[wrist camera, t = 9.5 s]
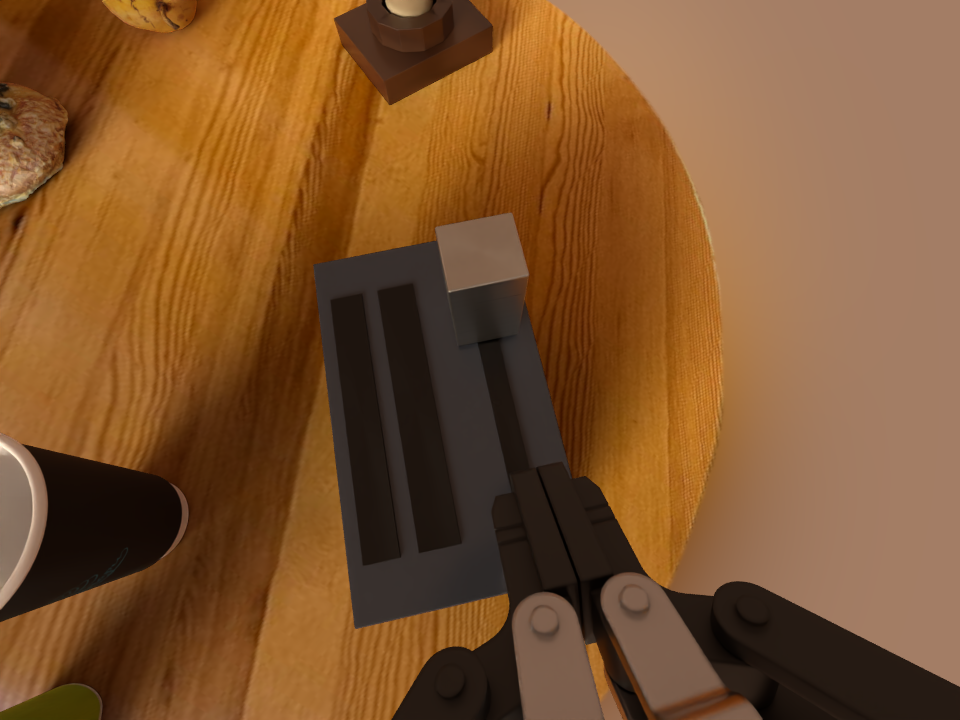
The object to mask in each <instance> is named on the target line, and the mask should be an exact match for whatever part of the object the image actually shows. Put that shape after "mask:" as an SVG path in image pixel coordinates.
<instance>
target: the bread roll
mask: <svg viewBox="0 0 960 720" xmlns="http://www.w3.org/2000/svg"><path fill="white" fill-rule="evenodd" d="M67 122H68V113H67V111H66V110H65V109H64V107H63V106H62V105H60V101H59V100H57V99H55V98H53V97H47V96H44V95H42V94H40V93H38V92H37V91H35V90H32V89H30V88H27V87H25V86H22V85H20V84H16V83H14V84H12V83H6V82H1V81H0V208H1V207H2V206H7V205H9V204H11V203H16V202H20V201H24V200H26V199H27V198H28V197H29V196H28V195H29V194H32V193H33V191H35V190H36V189H37V188H38V187H39V186H41V185H42V184H43V183H45V182H46V181H47V179H48V178H51V177H52V175H54V174H55V173H56V172H58V171H59V170H61V169H62V168H63V164H62V162H63V161H64V157H65V156H64V154H65V148H64V147H65V144H66V143H65V139H64V136H65V127H66V125H67Z"/></svg>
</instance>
